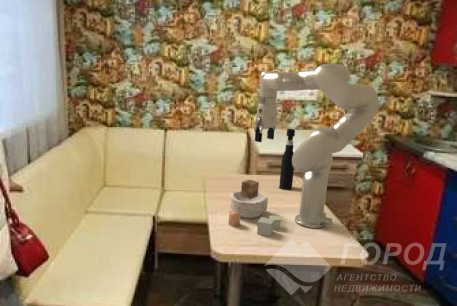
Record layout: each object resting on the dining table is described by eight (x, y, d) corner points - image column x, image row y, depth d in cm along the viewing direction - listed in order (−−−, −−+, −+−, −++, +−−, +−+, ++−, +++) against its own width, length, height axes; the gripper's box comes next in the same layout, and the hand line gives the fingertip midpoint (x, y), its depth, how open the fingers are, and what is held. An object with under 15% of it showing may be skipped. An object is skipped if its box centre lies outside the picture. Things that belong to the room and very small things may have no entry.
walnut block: (257, 196, 173) (258, 182, 172) (251, 198, 169) (252, 184, 168) (247, 193, 176) (248, 179, 175) (240, 195, 172) (241, 181, 171)
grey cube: (273, 231, 158) (274, 219, 157) (270, 236, 154) (271, 224, 153) (260, 229, 160) (261, 217, 159) (257, 234, 155) (258, 221, 154)
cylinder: (242, 224, 163) (243, 212, 162) (235, 227, 160) (236, 215, 159) (233, 221, 166) (233, 209, 165) (226, 224, 162) (227, 212, 161)
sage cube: (278, 225, 164) (279, 216, 163) (279, 229, 161) (280, 220, 160) (268, 224, 165) (269, 215, 164) (269, 229, 161) (269, 219, 160)
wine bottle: (292, 190, 209) (298, 130, 202) (279, 189, 209) (285, 130, 202) (291, 186, 215) (296, 128, 208) (278, 185, 215) (283, 127, 208)
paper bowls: (246, 224, 164) (248, 205, 162) (222, 211, 175) (223, 193, 173) (274, 216, 174) (275, 198, 172) (249, 205, 185) (250, 188, 183)
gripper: (263, 103, 170) (260, 144, 174) (285, 101, 184) (281, 139, 188) (248, 101, 175) (245, 141, 179) (270, 99, 188) (267, 136, 192)
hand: (264, 140), depth 183 cm, fingers open, 9 cm apart
